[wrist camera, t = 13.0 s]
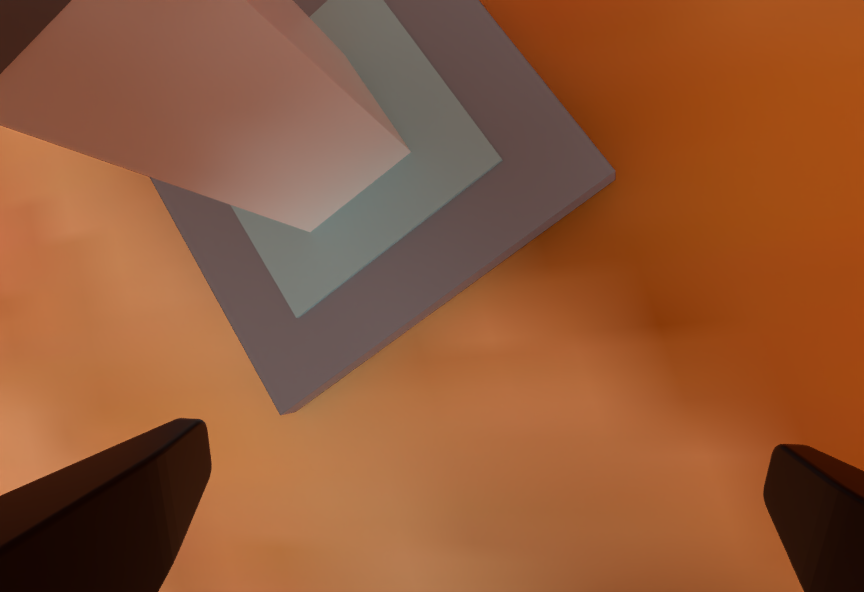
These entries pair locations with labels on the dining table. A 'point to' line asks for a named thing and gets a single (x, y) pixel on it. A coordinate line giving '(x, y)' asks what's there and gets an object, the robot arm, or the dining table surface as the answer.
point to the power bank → (199, 98)
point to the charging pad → (397, 196)
